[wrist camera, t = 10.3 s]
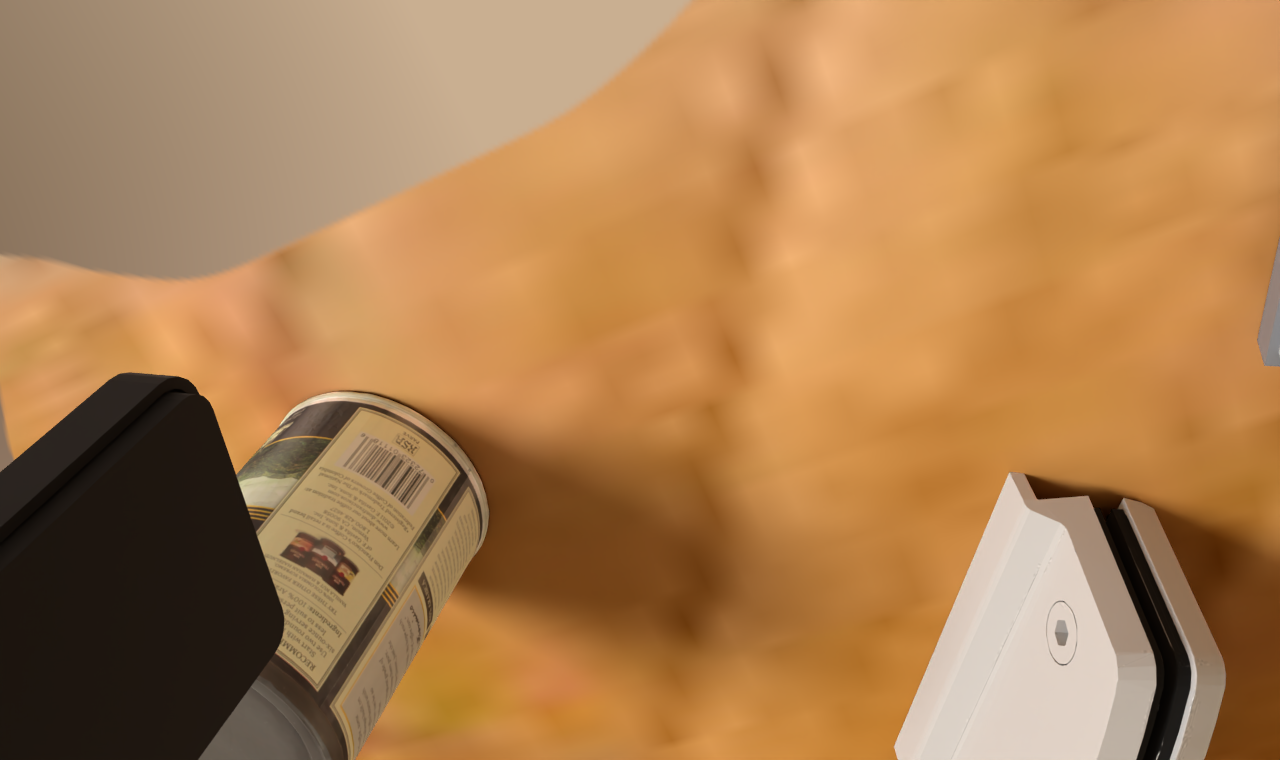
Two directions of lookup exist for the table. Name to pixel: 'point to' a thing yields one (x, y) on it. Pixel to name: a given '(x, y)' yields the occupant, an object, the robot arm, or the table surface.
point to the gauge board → (1271, 319)
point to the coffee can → (349, 568)
